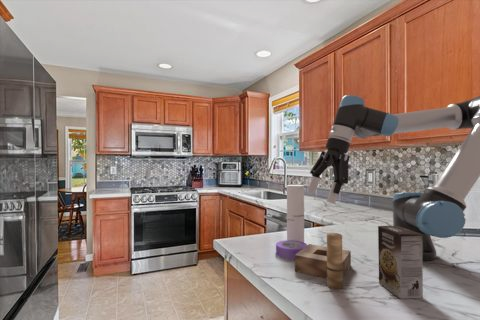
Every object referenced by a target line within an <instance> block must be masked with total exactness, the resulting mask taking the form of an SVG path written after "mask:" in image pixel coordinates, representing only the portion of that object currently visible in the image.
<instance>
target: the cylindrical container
mask: <svg viewBox="0 0 480 320" xmlns="http://www.w3.org/2000/svg"><path fill="white" fill-rule="evenodd" d="M286 240H294V241H300V242H304V243H305V185H303V184H302V185H301V184H287V185H286Z"/></svg>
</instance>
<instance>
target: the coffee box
mask: <svg viewBox="0 0 480 320" xmlns="http://www.w3.org/2000/svg"><path fill="white" fill-rule="evenodd" d="M377 229H378V230H377V231H378V232H377V233H378V235H377V236H378V238H377V240H378V241H377V244H378V246H377V247H378V248H377V249H378V284H379V285H381V286H383V287H384V288H385V289H387V291H389V292H391V293H392V294H393V295H395V296H396V297H398V298H399V299H401V300H402V299H423V298H424V295H423V292H424V290H423V289H424V288H423V286H424V285H423V283H424V282H423V276H424V275H423V272H424V271H423V268H424V267H423V262H424V260H423V259H422V234H421V233H418V232H415V231H412V230H409V229H406V228H403V227H400V226H393V225H378V226H377Z"/></svg>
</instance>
